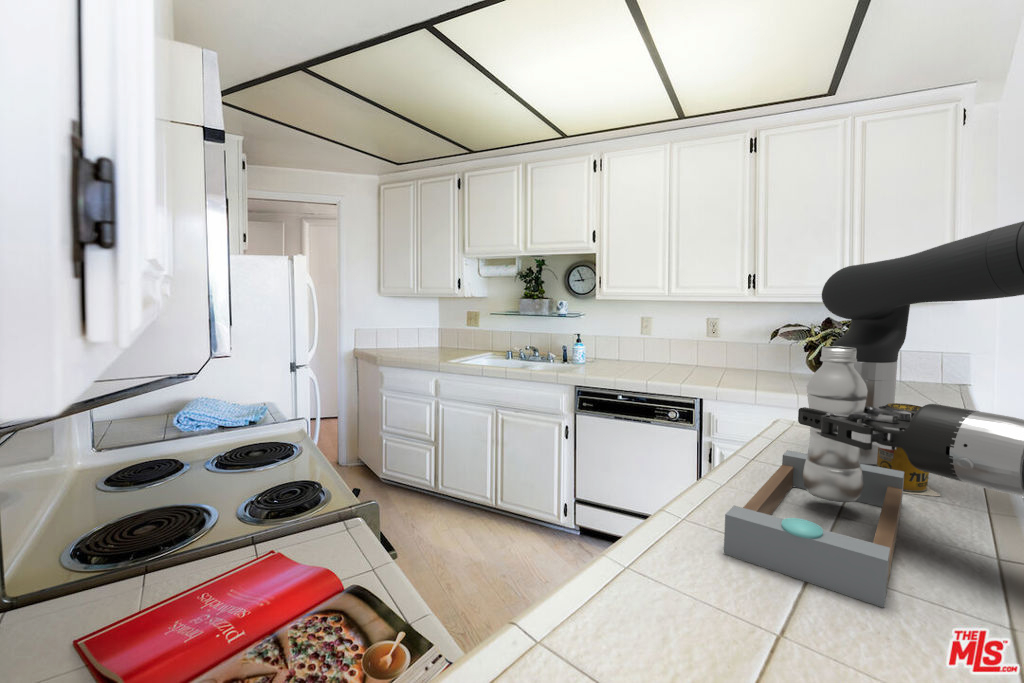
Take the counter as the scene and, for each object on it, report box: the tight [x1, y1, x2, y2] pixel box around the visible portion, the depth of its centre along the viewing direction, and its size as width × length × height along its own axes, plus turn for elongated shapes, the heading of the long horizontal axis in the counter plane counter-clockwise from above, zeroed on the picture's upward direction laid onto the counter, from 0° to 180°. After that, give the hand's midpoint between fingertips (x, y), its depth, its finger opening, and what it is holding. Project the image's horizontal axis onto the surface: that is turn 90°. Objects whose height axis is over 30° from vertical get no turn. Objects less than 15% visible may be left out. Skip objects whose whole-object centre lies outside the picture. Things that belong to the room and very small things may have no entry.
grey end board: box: [723, 505, 890, 609], centre depth 49 cm, size 14×4×5 cm, turn 48°
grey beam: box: [781, 449, 904, 508], centre depth 68 cm, size 14×4×5 cm, turn 48°
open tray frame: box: [742, 464, 903, 589], centre depth 59 cm, size 14×23×3 cm, turn 138°
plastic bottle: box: [803, 345, 868, 503], centre depth 62 cm, size 6×7×20 cm
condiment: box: [876, 402, 941, 497], centre depth 71 cm, size 7×8×12 cm
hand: (817, 412), depth 64 cm, fingers closed on plastic bottle, 6 cm apart
